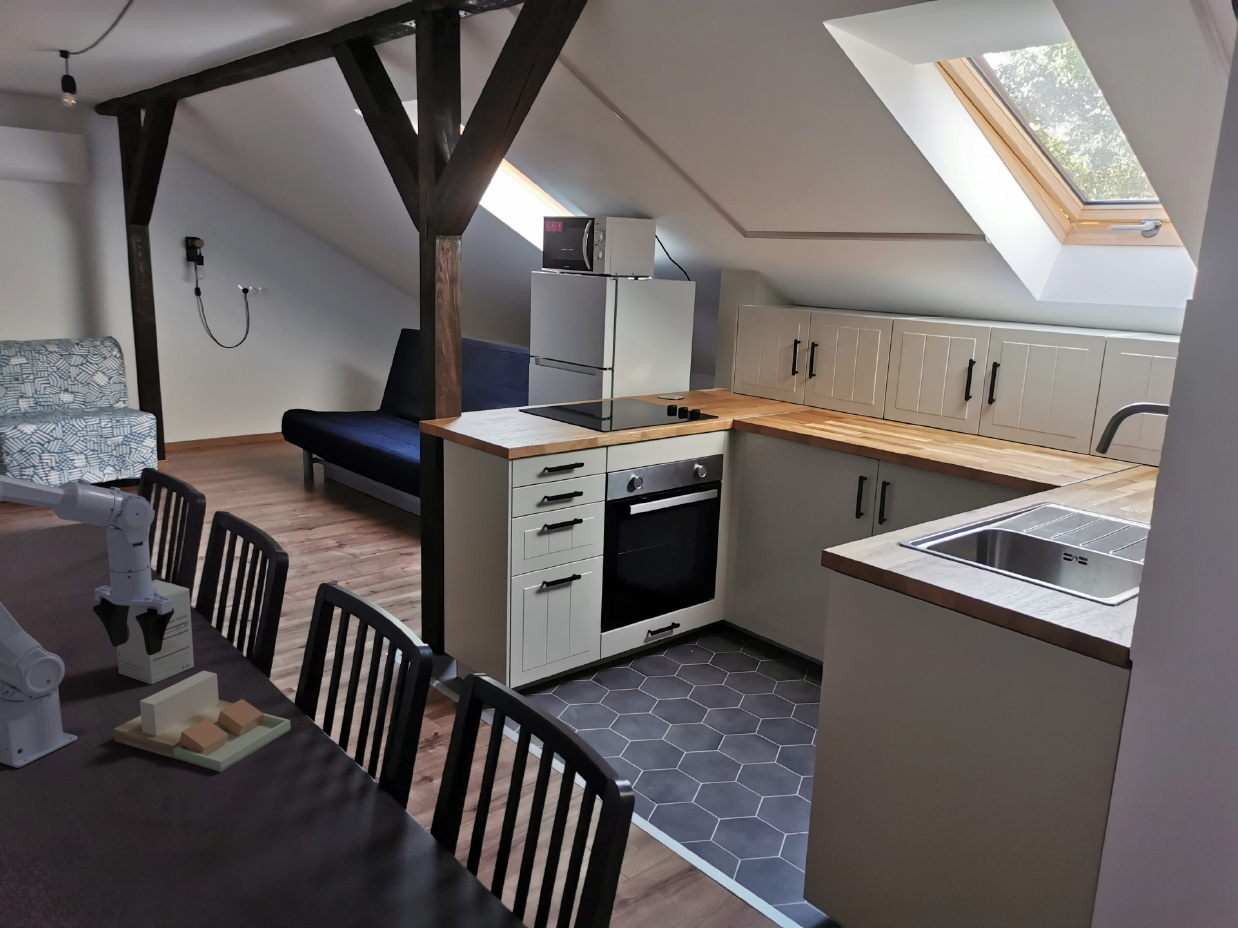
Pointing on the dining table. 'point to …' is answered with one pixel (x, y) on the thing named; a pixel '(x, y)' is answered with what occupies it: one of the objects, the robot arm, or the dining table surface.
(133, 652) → the supplement box
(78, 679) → the dining table surface
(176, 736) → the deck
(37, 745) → the robot arm
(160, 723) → the push bar
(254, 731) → the tray
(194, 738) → the tile
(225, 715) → the tile
